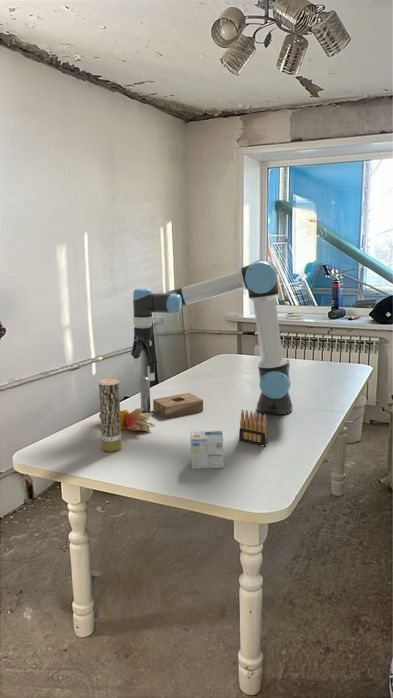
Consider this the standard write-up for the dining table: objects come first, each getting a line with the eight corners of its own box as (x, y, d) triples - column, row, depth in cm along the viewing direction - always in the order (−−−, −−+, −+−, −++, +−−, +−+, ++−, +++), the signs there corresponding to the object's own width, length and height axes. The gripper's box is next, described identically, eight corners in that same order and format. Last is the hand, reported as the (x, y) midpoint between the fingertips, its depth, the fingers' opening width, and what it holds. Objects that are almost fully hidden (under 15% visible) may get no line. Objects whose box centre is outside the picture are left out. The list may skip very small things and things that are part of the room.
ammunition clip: (238, 440, 194) (239, 409, 191) (241, 439, 195) (241, 408, 193) (265, 446, 188) (266, 414, 186) (267, 445, 190) (268, 413, 187)
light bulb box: (222, 460, 177) (222, 429, 175) (224, 468, 171) (224, 437, 169) (190, 460, 177) (190, 430, 175) (191, 469, 171) (190, 438, 168)
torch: (103, 430, 215) (155, 433, 203) (91, 427, 208) (144, 430, 196) (107, 411, 217) (158, 412, 205) (95, 407, 211) (147, 408, 199)
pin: (152, 414, 222) (151, 378, 219) (143, 416, 220) (142, 379, 217) (148, 412, 226) (147, 376, 222) (139, 413, 224) (138, 377, 220)
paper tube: (112, 443, 192) (109, 377, 187) (125, 448, 188) (122, 380, 183) (98, 449, 187) (94, 381, 182) (111, 454, 183) (107, 385, 178)
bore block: (203, 410, 227) (203, 399, 226) (166, 418, 218) (165, 406, 217) (189, 403, 237) (189, 392, 236) (153, 410, 228) (153, 399, 227)
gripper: (165, 330, 207) (165, 382, 211) (138, 321, 227) (139, 369, 232) (147, 332, 203) (148, 385, 207) (122, 322, 224) (124, 371, 228)
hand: (144, 376), depth 220 cm, fingers open, 13 cm apart
